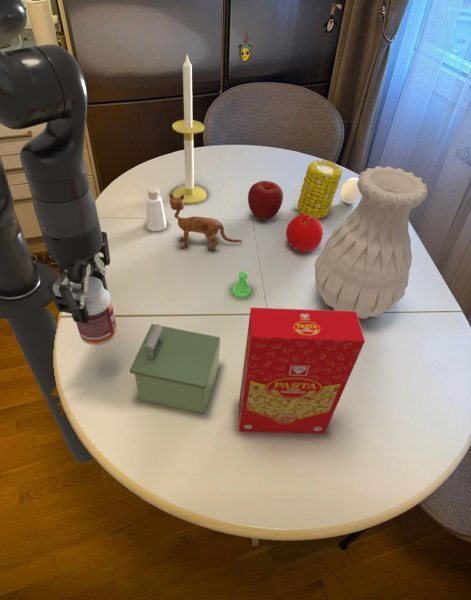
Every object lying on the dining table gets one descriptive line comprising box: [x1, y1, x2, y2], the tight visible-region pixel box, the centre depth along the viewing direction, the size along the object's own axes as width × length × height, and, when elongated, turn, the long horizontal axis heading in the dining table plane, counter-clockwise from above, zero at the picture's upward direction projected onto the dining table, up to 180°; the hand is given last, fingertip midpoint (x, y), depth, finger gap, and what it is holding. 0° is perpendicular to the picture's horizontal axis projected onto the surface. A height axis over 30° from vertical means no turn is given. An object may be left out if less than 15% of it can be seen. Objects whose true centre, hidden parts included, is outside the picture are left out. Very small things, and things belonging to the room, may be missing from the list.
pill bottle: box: [72, 276, 118, 347], centre depth 68 cm, size 6×6×11 cm
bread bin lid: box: [129, 323, 221, 389], centre depth 70 cm, size 13×11×4 cm
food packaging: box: [238, 307, 366, 435], centre depth 64 cm, size 15×5×25 cm, turn 90°
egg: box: [340, 177, 362, 205], centre depth 124 cm, size 6×6×8 cm
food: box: [296, 159, 343, 220], centre depth 117 cm, size 15×12×10 cm
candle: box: [171, 55, 208, 205], centre depth 111 cm, size 10×10×38 cm
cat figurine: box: [169, 193, 243, 251], centre depth 103 cm, size 18×7×14 cm, turn 92°
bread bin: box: [134, 341, 221, 415], centre depth 75 cm, size 12×11×8 cm
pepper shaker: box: [145, 186, 167, 233], centre depth 108 cm, size 5×5×11 cm
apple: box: [247, 180, 284, 221], centre depth 115 cm, size 10×10×10 cm
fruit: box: [285, 213, 324, 252], centre depth 106 cm, size 9×9×10 cm
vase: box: [314, 165, 429, 320], centre depth 85 cm, size 20×20×30 cm
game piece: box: [232, 270, 251, 299], centre depth 94 cm, size 4×4×6 cm
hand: (91, 306), depth 67 cm, fingers closed on pill bottle, 6 cm apart
